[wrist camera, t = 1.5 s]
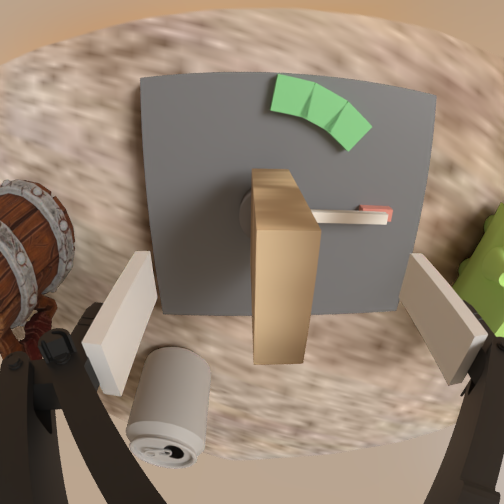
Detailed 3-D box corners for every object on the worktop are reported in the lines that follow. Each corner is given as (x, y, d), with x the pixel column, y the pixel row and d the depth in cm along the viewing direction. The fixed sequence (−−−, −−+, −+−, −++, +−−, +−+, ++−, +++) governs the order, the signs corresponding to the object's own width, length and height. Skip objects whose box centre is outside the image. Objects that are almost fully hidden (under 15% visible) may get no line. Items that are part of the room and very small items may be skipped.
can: (212, 387, 36) (206, 475, 26) (151, 382, 36) (132, 466, 25) (211, 343, 33) (201, 442, 22) (141, 338, 33) (112, 430, 22)
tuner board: (167, 301, 30) (161, 319, 28) (148, 78, 21) (136, 77, 19) (389, 298, 31) (399, 315, 28) (424, 94, 22) (441, 96, 19)
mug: (49, 145, 23) (-61, 251, 11) (114, 270, 31) (73, 401, 19) (-25, 189, 24) (-110, 285, 12) (37, 289, 32) (-9, 395, 20)
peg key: (239, 251, 26) (237, 364, 15) (239, 162, 22) (234, 230, 12) (372, 251, 26) (437, 350, 15) (386, 169, 23) (479, 235, 12)
